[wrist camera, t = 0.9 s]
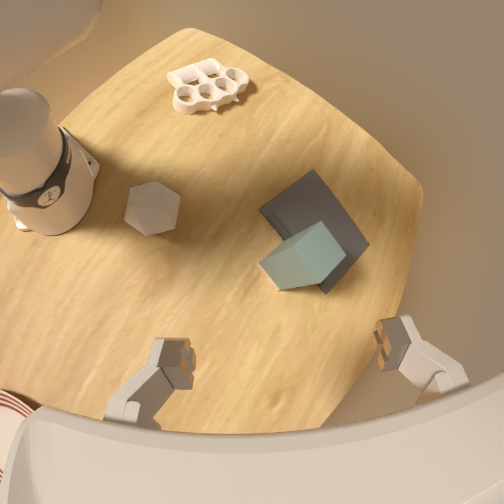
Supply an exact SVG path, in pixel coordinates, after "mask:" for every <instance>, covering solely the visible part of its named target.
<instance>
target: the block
mask: <svg viewBox="0 0 504 504" xmlns="http://www.w3.org/2000/svg"><path fill="white" fill-rule="evenodd" d="M345 256H346V254H345V253H344V251H343V250H342V248H341V247H340V246H339V244H338V243H337V241H336V240H335V239H334V237H333V236H332V235H331V233H330V232H329V231H328V229H327V228H326V227H325V225H324V224H323V223H322V221H320V222H318V223H316V224H314V225H312V226H311V227H309V228H307V229H305V230H303V231H301V232H299V233H298V234H296V235H294V236H292V237H290V238H288V239H287V240H285V241H283V242H281V243H279V244H278V245H277V246H276V247H275V248H274V249H272V250H271V251H270V252H269V253H268V254H267V255H265V256H264V257H263V258H262V259H261V260H260V261H258V262H257V263H256V264H257V266H258V267H259V268H260V269H261V271H262V272H263V273H264V274H265V276H266V277H267V278H268V279H269V281H270V282H271V283H272V284H273V286H274V287H275V288H276V289H277V291H278V290H284V289H290V288H295V287H301V286H307V285H312V284H318V283H321V282H322V281H323V280H324V279H325V278H326V277H327V276H328V275H329V273H330V272H331V271H332V270H333V269H334V268H335V267H336V266H337V265H338V264H339V263H340V262H341V260H342V259H343V258H344V257H345Z"/></svg>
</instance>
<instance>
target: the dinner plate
mask: <svg viewBox="0 0 504 504" xmlns="http://www.w3.org/2000/svg"><path fill="white" fill-rule="evenodd" d="M33 412H34V410H33V409H31V408H30V407H29V406H28V405H26V404H25V403H23V402H22V401H21V400H19V399H18V398H16V397H14V396H13V395H11V394H9V393H7V392H5V391H2V390H0V484H1V479H2V475H3V470H4V466H5V463H6V460H7V456H8V453H9V450H10V447H11V444H12V442H13V439H14V436H15V434H16V431H17V429H18V427H19V426H20V424H21V422H22V421H23V420H24V419H25V418H26V417H27V416H29V415H30V414H31V413H33Z"/></svg>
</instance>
